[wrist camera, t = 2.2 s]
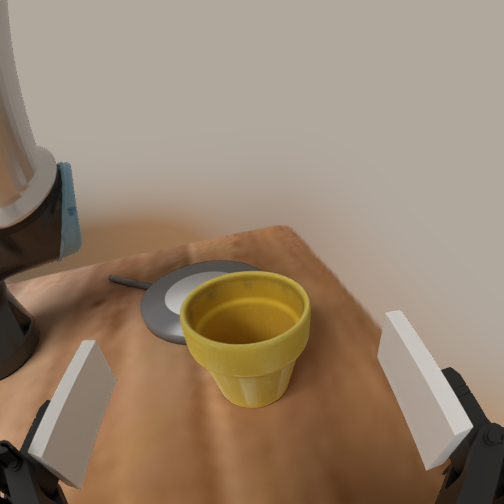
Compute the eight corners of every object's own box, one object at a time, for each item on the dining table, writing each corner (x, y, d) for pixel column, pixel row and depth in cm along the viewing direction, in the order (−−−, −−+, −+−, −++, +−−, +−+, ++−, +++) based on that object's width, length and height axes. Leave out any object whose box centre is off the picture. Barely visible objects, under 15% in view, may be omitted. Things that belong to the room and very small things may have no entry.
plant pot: (303, 342, 32) (302, 264, 28) (314, 420, 23) (320, 341, 18) (209, 348, 33) (191, 273, 28) (196, 424, 23) (163, 349, 19)
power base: (74, 307, 42) (71, 299, 41) (142, 256, 57) (140, 249, 56) (236, 360, 30) (234, 351, 30) (289, 275, 45) (288, 266, 45)
